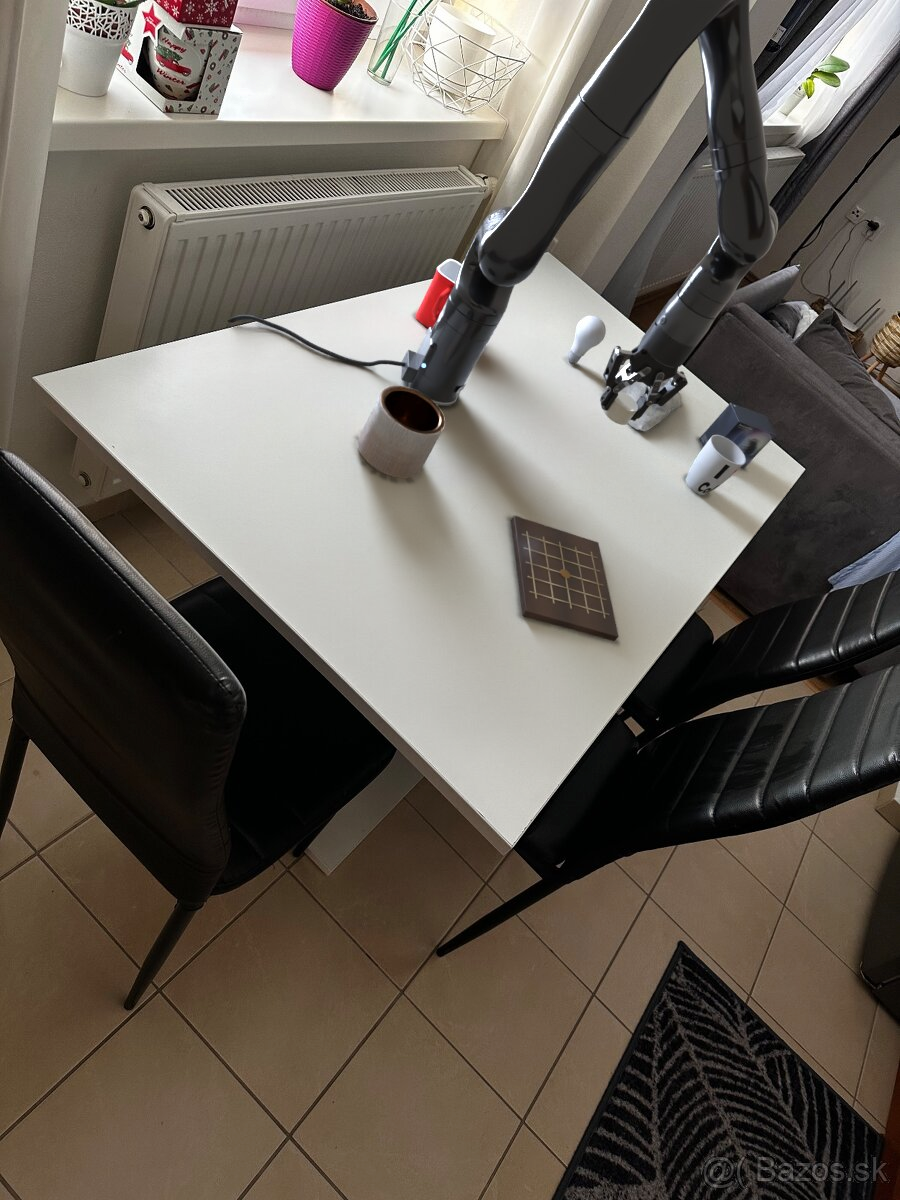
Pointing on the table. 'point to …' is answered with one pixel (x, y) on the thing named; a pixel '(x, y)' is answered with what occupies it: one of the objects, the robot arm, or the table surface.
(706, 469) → the cup
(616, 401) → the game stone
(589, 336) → the lightbulb
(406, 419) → the planter
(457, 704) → the table surface
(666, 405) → the stone
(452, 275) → the mug
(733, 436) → the small box
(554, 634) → the table surface
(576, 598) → the board
